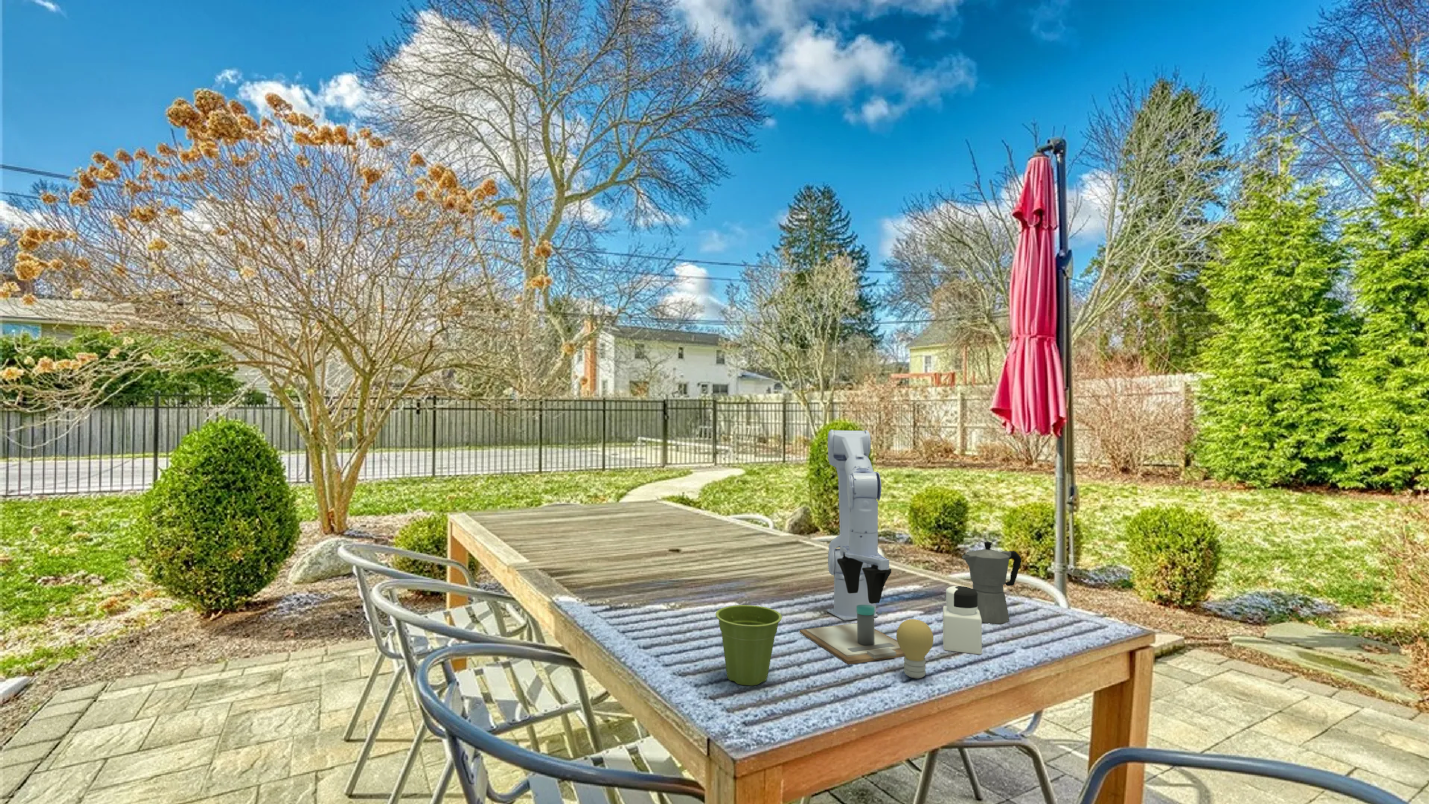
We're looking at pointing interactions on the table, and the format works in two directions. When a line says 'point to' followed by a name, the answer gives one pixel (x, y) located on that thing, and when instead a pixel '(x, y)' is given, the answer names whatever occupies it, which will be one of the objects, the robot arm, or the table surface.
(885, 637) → the clipboard
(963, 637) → the medicine bottle
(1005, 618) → the coffeepot
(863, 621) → the teal topped grey cylinder
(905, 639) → the light bulb
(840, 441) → the robot arm
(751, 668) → the plant pot
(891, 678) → the table surface
